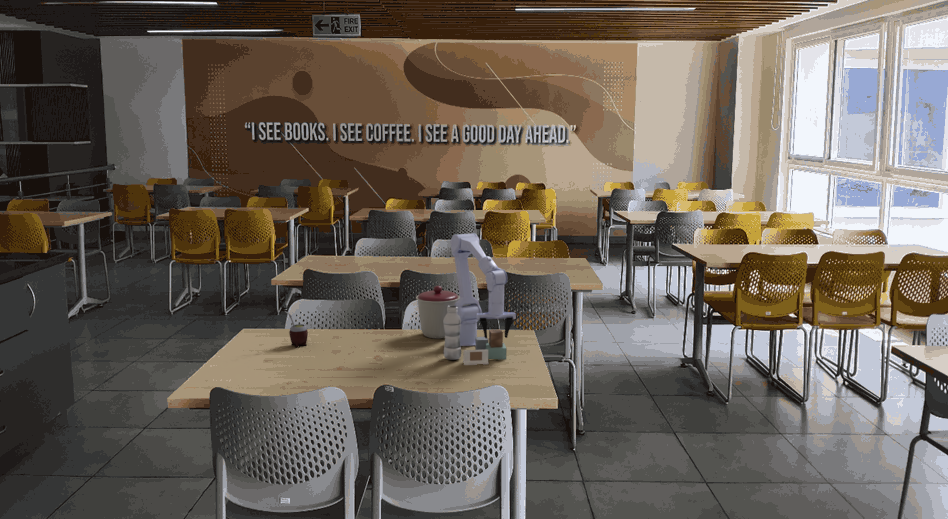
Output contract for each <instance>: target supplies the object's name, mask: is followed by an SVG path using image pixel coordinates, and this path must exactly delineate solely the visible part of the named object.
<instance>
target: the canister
mask: <svg viewBox="0 0 948 519" xmlns="http://www.w3.org/2000/svg"><path fill="white" fill-rule="evenodd" d="M459 299H460V295H459V294H457V293H455V292H453V291H449V290H443V287H442V286H441V285H435V286H434V287H433V290H428V291H423V292H421V293H419V294H418V295H416V297H415V300H417V305H418V308H417V309H418V316H419V321H420V322H419V323H420V329H421V332H422V334H423V336H425V337H427V338H430V339H445V329H444V323H443V320H444V317H445V316H446V315H447V313H448V312H447V307H448V306H455V305H454V304H455V303H456V302H457V301H458V300H459Z"/></svg>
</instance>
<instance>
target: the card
mask: <svg viewBox="0 0 948 519" xmlns="http://www.w3.org/2000/svg"><path fill="white" fill-rule="evenodd" d="M462 351H463V352H462V353H463V358H462V360H463V361H462V363H464V364H463V366H477V364H483V365H489V360H488V350H475V349H465V350H464V349H463V350H462Z"/></svg>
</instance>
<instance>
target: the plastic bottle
mask: <svg viewBox="0 0 948 519" xmlns="http://www.w3.org/2000/svg"><path fill="white" fill-rule="evenodd" d="M447 312H448V313H447V315H446V316H445V317H444V320H443V323H444V329H445V338H444V347H443V357H444V359H446V360H448V361H450V360H451V361H455V360H459V359H460V358H461V357H462V353H463V352H462V346H460V326H461V319H460V317H459V315H458V314H457V312H458V310H457V306H448V307H447Z"/></svg>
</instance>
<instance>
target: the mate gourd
mask: <svg viewBox="0 0 948 519" xmlns="http://www.w3.org/2000/svg"><path fill="white" fill-rule="evenodd" d="M284 312H285V314H287V315H288V317H289V318H290V320H291V324H292V325H291V327H290V328H289V332H288V333H289V338H290V345H291V346H295V348H296V349H297V348H299V347H307V346H308V345H307V342H308V335H309V331H308V328H307V326H306V325H305V324H301V323H300V324H299V323H298V324H295V322H294V320H293V317H292V316H293V315H291V313H289V312H288V311H286V310H284Z"/></svg>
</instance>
